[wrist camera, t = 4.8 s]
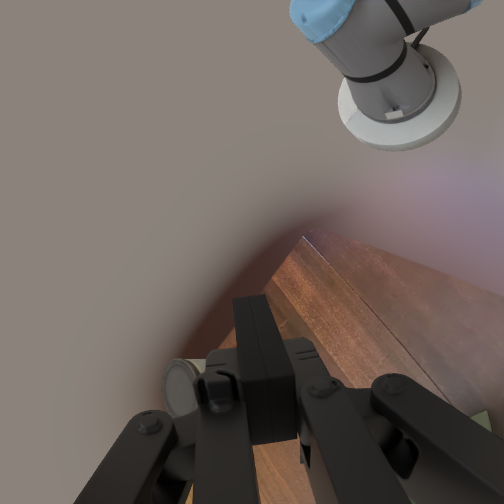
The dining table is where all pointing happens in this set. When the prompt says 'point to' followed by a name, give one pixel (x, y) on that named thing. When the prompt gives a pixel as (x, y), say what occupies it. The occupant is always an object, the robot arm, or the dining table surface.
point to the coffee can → (181, 385)
